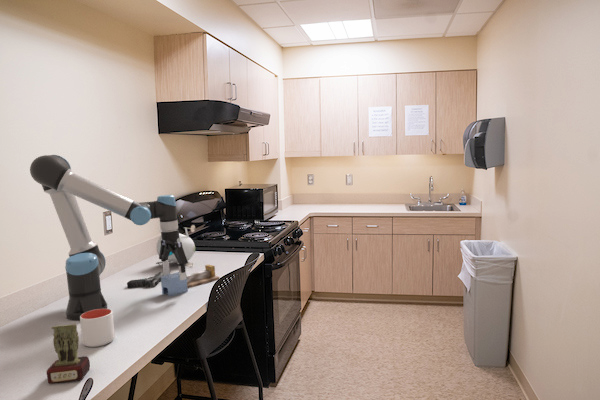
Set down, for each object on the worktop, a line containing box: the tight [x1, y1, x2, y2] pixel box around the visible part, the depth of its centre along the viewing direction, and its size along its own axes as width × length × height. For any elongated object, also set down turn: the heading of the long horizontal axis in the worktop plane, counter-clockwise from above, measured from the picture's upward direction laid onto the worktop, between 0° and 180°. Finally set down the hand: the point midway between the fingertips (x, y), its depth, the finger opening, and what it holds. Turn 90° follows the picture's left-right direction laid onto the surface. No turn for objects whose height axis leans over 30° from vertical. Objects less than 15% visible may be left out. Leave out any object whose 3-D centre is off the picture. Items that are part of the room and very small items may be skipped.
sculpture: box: [46, 324, 91, 384], centre depth 134 cm, size 10×8×15 cm
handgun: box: [126, 271, 164, 289], centre depth 230 cm, size 20×3×14 cm
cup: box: [79, 308, 116, 348], centre depth 158 cm, size 10×10×10 cm
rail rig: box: [186, 264, 221, 289], centre depth 224 cm, size 20×12×6 cm, turn 136°
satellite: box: [155, 224, 196, 268], centre depth 262 cm, size 23×20×25 cm
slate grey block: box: [160, 271, 189, 298], centre depth 209 cm, size 9×6×8 cm
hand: (174, 277), depth 208 cm, fingers open, 13 cm apart
